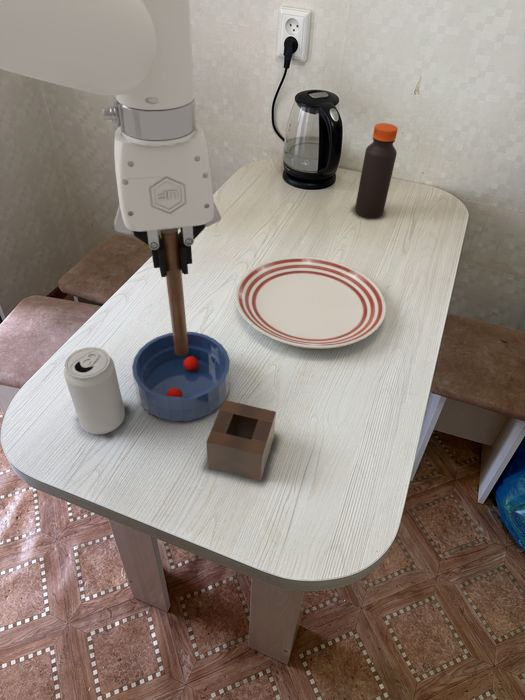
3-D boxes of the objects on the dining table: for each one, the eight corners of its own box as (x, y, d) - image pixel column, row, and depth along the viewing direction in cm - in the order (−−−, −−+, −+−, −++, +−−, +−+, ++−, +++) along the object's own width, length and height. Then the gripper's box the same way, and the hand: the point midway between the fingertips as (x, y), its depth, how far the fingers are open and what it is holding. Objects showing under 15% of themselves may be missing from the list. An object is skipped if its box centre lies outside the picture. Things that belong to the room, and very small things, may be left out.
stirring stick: (172, 354, 73) (157, 232, 59) (177, 345, 74) (164, 224, 60) (185, 357, 72) (174, 235, 59) (190, 348, 74) (180, 227, 60)
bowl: (121, 412, 75) (115, 387, 71) (159, 348, 85) (155, 323, 81) (212, 434, 72) (211, 409, 69) (240, 366, 82) (240, 341, 79)
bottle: (350, 213, 121) (365, 128, 107) (361, 202, 125) (377, 119, 111) (376, 222, 118) (395, 135, 105) (387, 210, 123) (406, 126, 109)
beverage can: (71, 428, 72) (50, 370, 64) (98, 397, 76) (81, 339, 68) (109, 443, 71) (93, 385, 62) (134, 410, 75) (122, 352, 67)
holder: (207, 468, 68) (206, 442, 64) (224, 426, 74) (223, 399, 69) (260, 481, 67) (262, 455, 63) (273, 438, 72) (276, 411, 68)
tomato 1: (164, 405, 75) (162, 394, 73) (170, 393, 77) (169, 383, 75) (179, 409, 74) (178, 398, 73) (185, 397, 76) (184, 386, 75)
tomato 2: (181, 372, 80) (180, 362, 78) (187, 362, 81) (186, 351, 80) (196, 375, 79) (195, 365, 78) (201, 365, 81) (200, 354, 79)
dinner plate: (263, 255, 106) (264, 241, 104) (393, 285, 100) (397, 271, 98) (210, 336, 87) (210, 322, 85) (366, 379, 81) (370, 365, 79)
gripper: (75, 137, 46) (109, 296, 59) (243, 126, 50) (241, 278, 62) (74, 108, 51) (106, 260, 64) (227, 100, 55) (228, 246, 68)
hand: (173, 268), depth 63 cm, fingers closed on stirring stick, 2 cm apart
